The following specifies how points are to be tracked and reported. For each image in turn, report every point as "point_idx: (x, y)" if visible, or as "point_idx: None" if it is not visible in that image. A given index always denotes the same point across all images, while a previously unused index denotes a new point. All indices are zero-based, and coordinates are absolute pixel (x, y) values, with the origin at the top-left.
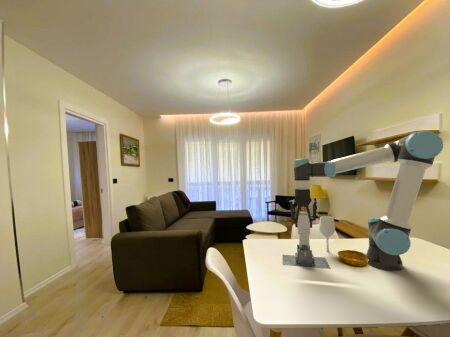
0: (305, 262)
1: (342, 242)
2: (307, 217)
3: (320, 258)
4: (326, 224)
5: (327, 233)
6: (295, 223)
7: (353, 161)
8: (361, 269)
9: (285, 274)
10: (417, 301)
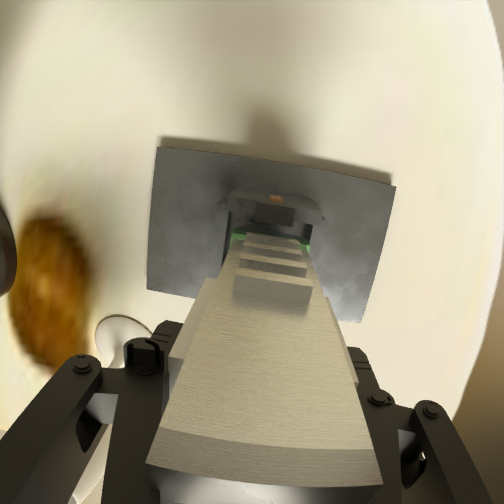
0: (274, 192)
1: None
2: (190, 396)
3: (171, 278)
4: None
5: None
6: (371, 376)
7: None
8: (42, 187)
9: (391, 107)
10: (22, 5)
